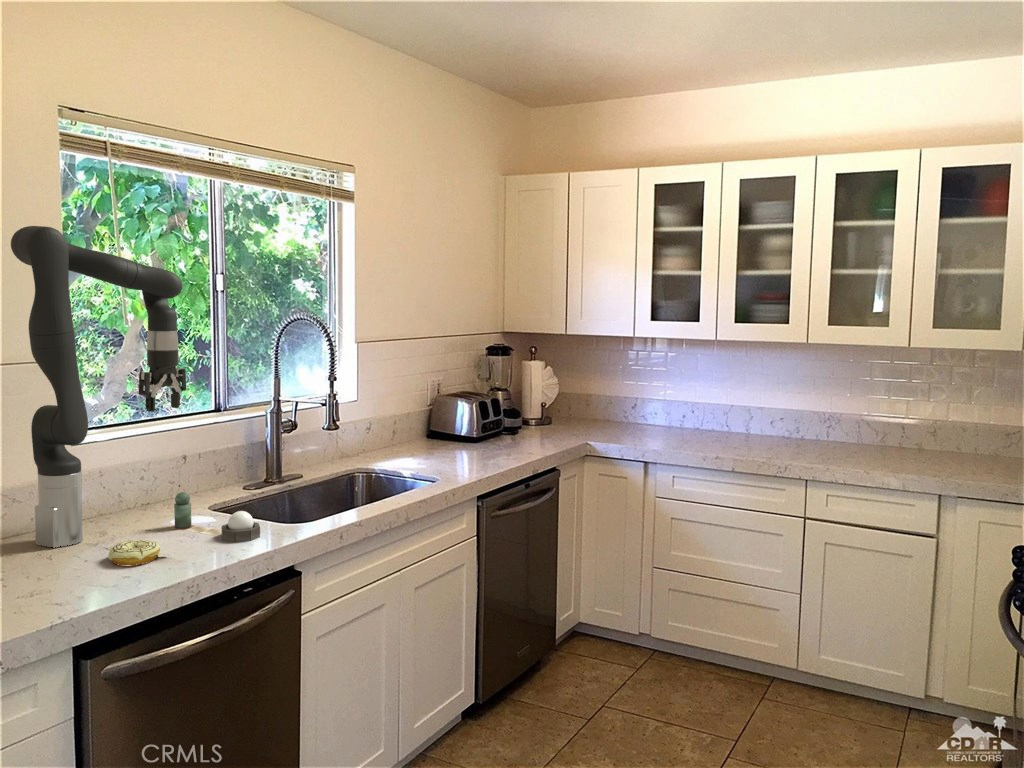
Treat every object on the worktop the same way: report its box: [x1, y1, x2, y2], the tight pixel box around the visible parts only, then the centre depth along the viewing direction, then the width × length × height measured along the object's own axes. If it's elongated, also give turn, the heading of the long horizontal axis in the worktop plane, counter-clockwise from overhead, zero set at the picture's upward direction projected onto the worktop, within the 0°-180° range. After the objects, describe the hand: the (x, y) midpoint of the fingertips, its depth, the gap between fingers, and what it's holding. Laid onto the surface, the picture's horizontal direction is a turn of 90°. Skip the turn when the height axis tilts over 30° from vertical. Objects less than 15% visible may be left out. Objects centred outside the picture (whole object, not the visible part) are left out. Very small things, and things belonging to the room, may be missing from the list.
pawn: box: [173, 491, 192, 530], centre depth 212 cm, size 4×4×9 cm
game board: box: [170, 521, 261, 543], centre depth 209 cm, size 10×25×4 cm, turn 69°
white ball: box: [227, 510, 254, 531], centre depth 206 cm, size 6×6×6 cm
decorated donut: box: [107, 539, 161, 566], centre depth 190 cm, size 10×11×4 cm
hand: (163, 409), depth 218 cm, fingers open, 8 cm apart
